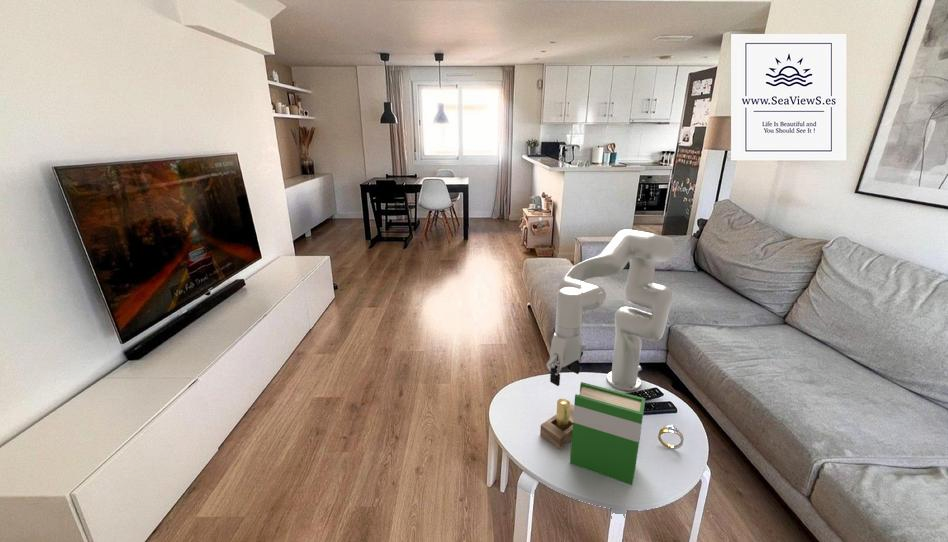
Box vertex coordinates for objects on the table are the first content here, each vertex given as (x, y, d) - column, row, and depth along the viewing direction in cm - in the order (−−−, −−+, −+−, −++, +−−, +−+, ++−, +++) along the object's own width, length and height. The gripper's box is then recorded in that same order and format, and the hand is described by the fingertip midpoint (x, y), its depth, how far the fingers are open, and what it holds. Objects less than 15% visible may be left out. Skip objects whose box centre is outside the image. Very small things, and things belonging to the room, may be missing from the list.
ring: (681, 449, 123) (686, 428, 121) (680, 455, 121) (684, 434, 118) (657, 440, 127) (661, 419, 124) (655, 446, 125) (659, 425, 122)
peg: (560, 427, 134) (562, 397, 130) (570, 433, 131) (572, 403, 127) (552, 432, 131) (554, 402, 127) (562, 439, 128) (564, 408, 124)
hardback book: (569, 463, 119) (575, 396, 111) (575, 446, 125) (581, 381, 117) (632, 485, 111) (642, 414, 103) (635, 466, 117) (645, 398, 110)
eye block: (570, 413, 140) (571, 404, 139) (589, 425, 134) (590, 415, 133) (540, 434, 130) (540, 425, 129) (559, 448, 124) (560, 438, 123)
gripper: (575, 316, 126) (572, 363, 132) (539, 332, 116) (537, 383, 121) (596, 324, 121) (591, 372, 126) (559, 342, 110) (556, 394, 116)
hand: (564, 377), depth 124 cm, fingers open, 9 cm apart
